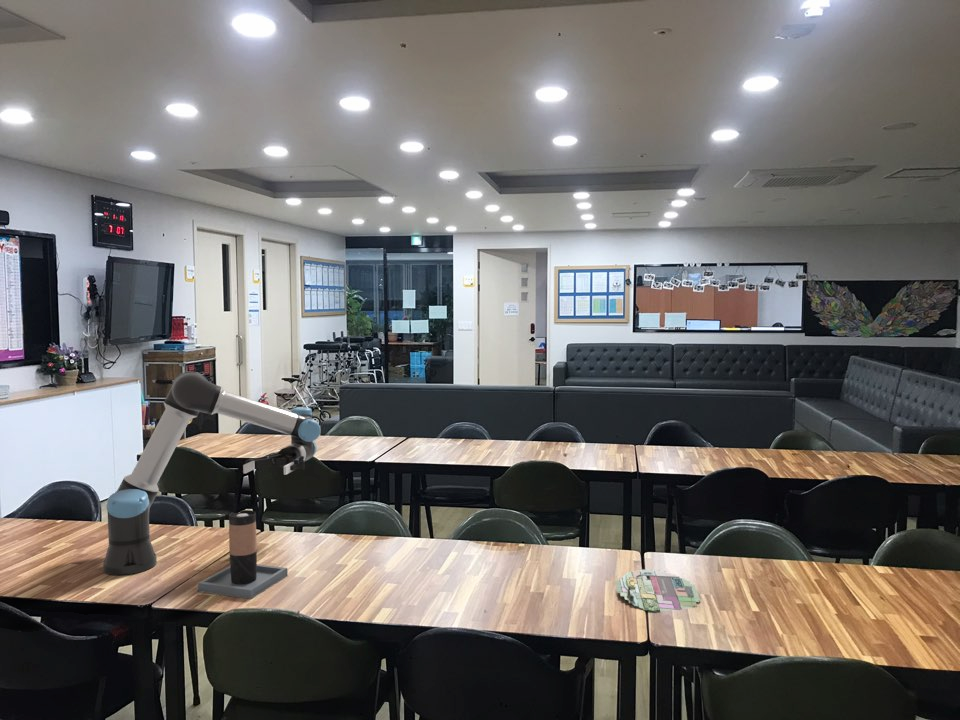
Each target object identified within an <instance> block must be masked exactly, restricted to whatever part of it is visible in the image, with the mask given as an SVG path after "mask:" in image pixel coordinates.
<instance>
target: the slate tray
mask: <svg viewBox="0 0 960 720" xmlns="http://www.w3.org/2000/svg"><path fill="white" fill-rule="evenodd" d="M288 573H289V572H288V567H282V566H274V565H265V564H260V563H257V577H256V580H255V581H254V582H251V583H248V584H233V583H232V582H231V569H230V565H229V566H226V567H224V568H223V569H221V570H219V571H217V572H215V573H214V574H212V575H210V576H209V577H208V576H207V577H206V578H204V579H203V580H200V581H199V582H197V592H199V593H205V594H206V593H207V594H214V595H220V596H228V597H234V598H241V599H249V600H252V599H254V598H255V597H257V596H258V595H260V594H261V593H263V592H265V591H266V590H268V589H270V588H271V587H272V586H275V585H277V583H279V582H280V581H282V580H283V579H285V578H287V577H289V575H288Z"/></svg>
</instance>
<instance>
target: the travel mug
mask: <svg viewBox="0 0 960 720" xmlns="http://www.w3.org/2000/svg"><path fill="white" fill-rule="evenodd" d="M256 514H257V513H256V511H254V510H249V509H248V510H247V509H245V510H243V509H242V510H240V511H239V512H235V513H234V512H231V513H229V514H228V530H229V531H228V537H229V538H228V539H229V541H228V542H229V544H228V546H229V566H230V569H231V582H232V583H233V584H248V583H251V582H254V581H255V580H256V577H257V564H258V562H257V561H258V560H257V559H258V557H257V556H258V553H257V552H258V551H257V549H258V547H257V521H256V520H257V518H256V517H257V515H256Z"/></svg>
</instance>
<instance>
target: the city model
mask: <svg viewBox="0 0 960 720" xmlns="http://www.w3.org/2000/svg"><path fill="white" fill-rule="evenodd" d="M625 573H626V574H623V575H622V577H621V578H620V577H619V578H618V579H615V586H616V592H617V593H620V594H619V595H620V597H624V600H625V601H628V604H632V605H633V606H634V607H638V608H640V609H642V611H644V612H645V611H646V612H650V613H659V612H660V613H661V612H667V611H669V612H670V611H680V610H686V609H688V610H689V609H693V608H694V607H695V608H696V607H697V608H698V605H697V603H700V601H701V599H700V596H699V593H698V591H697V588H696V585H695V584H691V581H690V580H687V579H685V578H683V577H682V578H681V577H680V576H679V575H677V574H674V573H673V574H672V573H669V572H666V571H663V570H655V569H639V570H630V571H628V572H627V571H626V572H625Z"/></svg>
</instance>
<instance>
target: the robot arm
mask: <svg viewBox="0 0 960 720" xmlns="http://www.w3.org/2000/svg"><path fill="white" fill-rule="evenodd" d="M163 405H164V408H165V409H164V411H163V414H162V415H161V417H160V419H159V421H158V423H157V424H156V427H155V428H154V431H153V432H152V434H151V436H150V438H149V440H148V442H147V443H146V445H145V448H143V449H144V450H143V451H142V453H141V455H140V457H139V459H138V461H137V463H136V464H135V467H134V468H133V470H132V473H131V474H128V475H125V476H124V477H123V479H122V481H121V483H120V485H119V487H118V488H117V490H116V491H115V492H113V493H111V495H109V496H108V498H107V503H106V511H107V531H108V533H107V535H108V547H107V551H106V552H105V559H104V561H103V563H102V564H103V566H102V569H103V573H105V574H107V575H112V576H123V575H124V576H127V575H133V574H137V573H141V572H145V571H147V570H150V569H152V568H154V567H156V565H157V563H158V561H157V554H156V552H155V550H154V547H153V544H152V542H151V535H150V534H151V533H150V532H151V531H150V508H151V506H152V505H153V502H154V501H155V499H156V497H157V494H158V492H159V491H160V487H159V486H158V482H159V481H160V478H161V477H162V475H163V473H164V471H165V469H166V467H167V466H168V463H169V461H170V460H171V457H172V456H173V453H175V449H176V447H177V446H178V444H179V442H180V440H181V438H182V437H183V434H184V432H185V431H186V428H187V426H188V424H189V423H190V421H191V420H192V419H194V418H198V415H199V414H200V413H204V414H208V415H211V416H212V415H214V414H219V415H221V416H226V417H229V418H232V419H236V420H239V421H242V422H246V423H249V424H251V425H255V426H259V427H263V428H266V429H268V430H272V431H276V432H278V433H279V432H280V433H281V434H285V435H289V436H290V440H291V441H290V442H291V444H289V445H288V446H286V447H283V448H282V449H280V450H279V451H278V452H277V454H275V455H269V454H267V455H264V456H260V457H259V456H258V457H255V458H250V459H246V460H245V464H243V465H242V467H243V468H242V469H243V470H242V472H243V473H242V474H247V473H249V472H251V471H254V470H255V469H256V468H263V467H272V468H273V467H280V468H282V469H283V475H284V476H285V475H288V474H290V473H292V472H294V471H298V470H301V471H302V470H303V471H304V470H305V462H306V461H309V460H311V459H312V458H313V457H314V456H315V454H316V453H317V448H318V447H317V445H316V443H315V441H316V440H317V439H319V437H320V435H321V432H322V430H321V429H322V428H321V426H320V424H319V422H318V421H317V420H315V419H314V418H313V410H312V408H311V407H306V406H303V407H300V406H299V407H294V408H292V409H291V410H290V411H289V410H286V409H282V408H279V407H275V406H272V405H270V404H266V403H263V402H260V401H258V400H257V401H256V400H253V399H250V398H247V397H244V396H241V395H238V394H235V393H231V392H228V391H225V389H224V388H223V387H222V386H220V385H217V384H215V383H212V382H210V381H208V379H207V378H206V377H205V375H204V374H201V373H199V372H197V371H184V372H182V373H180V374H178V375H177V376H176V377H175V378H174V380H173V382H172V383H171V387H170V389H169V391H168V394H167V395H166V397H165V399H164V401H163Z"/></svg>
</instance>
